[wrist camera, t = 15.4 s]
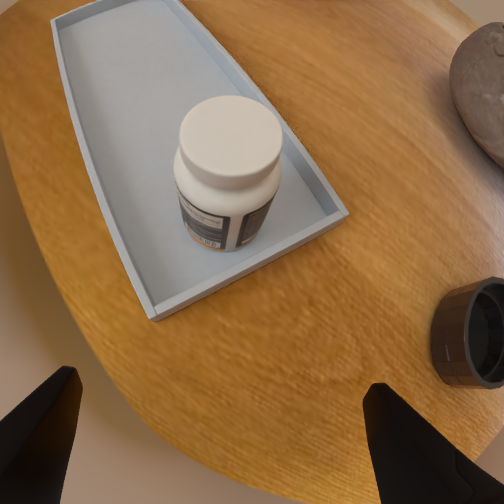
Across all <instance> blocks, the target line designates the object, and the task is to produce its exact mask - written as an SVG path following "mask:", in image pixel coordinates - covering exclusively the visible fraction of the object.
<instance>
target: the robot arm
mask: <svg viewBox="0 0 504 504" xmlns="http://www.w3.org/2000/svg"><path fill="white" fill-rule="evenodd" d="M82 390H83V387H82V382H81V380H80V377H79V375H78V372H77V370H76V368H74V367H70V366H62V367H61V368H59V369H58V370H57V371H56V372H55V373H54V374H52V375H51V376H50V377H49V378H48V379H47V380H46V381H44V382H43V383H42V384H41V385H40V386H39V387H38V388H36V389H35V390H34V391H33V392H32V393H31V394H30V395H29V396H27V397H26V398H25V399H24V400H23V401H22V402H21V403H20V404H19V405H17V406H16V407H15V408H14V409H13V410H12V411H11V412H10V413H9V414H7V415H6V416H5V417H4V418H3V419H2V420H1V421H0V504H60V499H61V494H62V489H63V484H64V480H65V475H66V471H67V466H68V462H69V457H70V454H71V450H72V446H73V442H74V438H75V433H76V428H77V421H78V415H79V409H80V402H81V397H82ZM363 411H364V419H365V426H366V434H367V441H368V447H369V451H370V456H371V460H372V464H373V468H374V473H375V477H376V481H377V486H378V490H379V495H380V500H381V504H504V485H503V484H502V483H500V482H499V481H498V480H496V479H495V478H493V477H492V476H491V475H489V474H488V473H486V472H485V471H484V470H482V469H481V468H480V467H478V466H477V465H476V464H474V463H473V462H472V461H471V460H470V459H468V458H467V457H466V456H465V455H464V454H463V453H462V452H461V451H459V450H458V449H457V448H456V447H455V446H454V445H453V444H452V443H450V442H449V441H448V440H447V439H446V438H445V437H444V436H443V435H442V434H441V433H440V432H438V431H437V430H436V429H435V428H434V427H433V426H432V425H431V424H430V423H429V422H427V421H426V420H425V419H424V418H423V417H422V416H421V415H420V414H419V413H418V412H417V411H415V410H414V409H413V408H412V407H411V406H410V405H409V404H408V403H407V402H406V401H404V400H403V399H402V398H401V397H400V396H399V395H398V394H397V393H396V392H395V391H394V390H392V389H391V388H390V387H389V386H388V385H387V384H386V383H374V384H372V385H371V387H370V388H369V390H368V392H367V393H366V395H365V397H364V399H363Z"/></svg>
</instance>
